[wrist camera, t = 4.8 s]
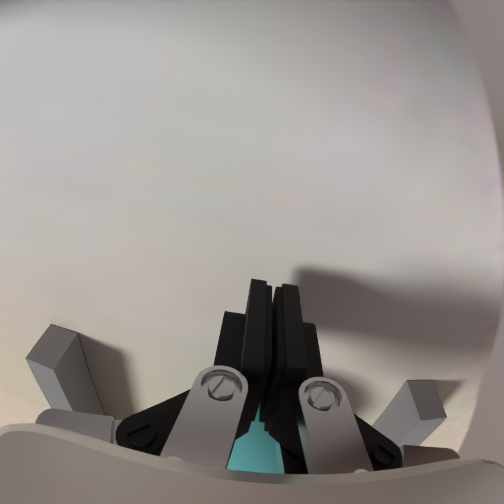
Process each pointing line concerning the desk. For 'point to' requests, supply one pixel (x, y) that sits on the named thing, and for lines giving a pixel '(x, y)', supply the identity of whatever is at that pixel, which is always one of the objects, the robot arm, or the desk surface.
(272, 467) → the ball
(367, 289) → the desk surface
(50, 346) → the pin pen
